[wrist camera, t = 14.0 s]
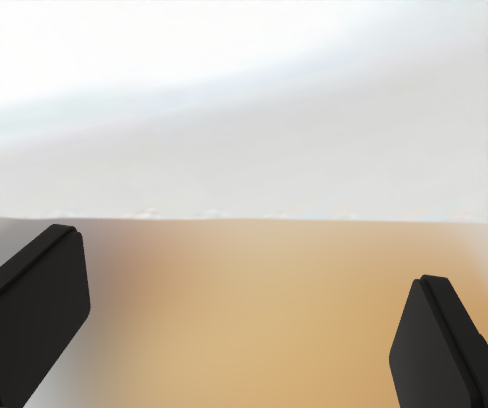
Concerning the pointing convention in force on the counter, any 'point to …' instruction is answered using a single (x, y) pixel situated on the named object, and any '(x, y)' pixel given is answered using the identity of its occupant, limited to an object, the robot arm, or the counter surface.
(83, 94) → the counter surface
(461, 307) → the robot arm
